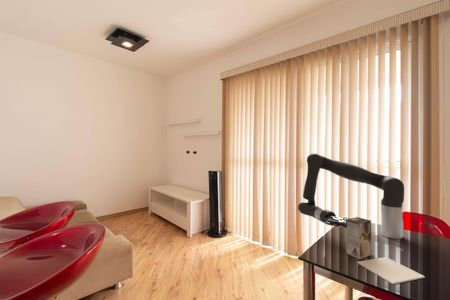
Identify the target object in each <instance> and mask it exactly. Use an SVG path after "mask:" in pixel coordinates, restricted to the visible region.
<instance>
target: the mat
mask: <svg viewBox="0 0 450 300" xmlns="http://www.w3.org/2000/svg"><path fill="white" fill-rule="evenodd" d="M356 263H357V264H358V263H359V264H358V265H360V266H362V267H363V268H365V269H367V270H368V271H369V272H372V273H373V274H375V275H377V276H378V277H379V278H381V279H383V280H385V281H386V282H387V283H389V284H390V285H397V284H401V283H406V282H410V281H415V280H420V279H425V278H426V277H425V275H423V274H421V273H419V272H417V271H415V270H414V269H413V270H412V269H411V268H409V267H407V266H405V265H403V264H402V263H399V262H397V261H395V260H393V259H391V258H390V257H387V256H383V257H378V258H372V259H365V260H360V261H357V262H356Z"/></svg>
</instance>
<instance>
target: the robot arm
mask: <svg viewBox="0 0 450 300" xmlns="http://www.w3.org/2000/svg"><path fill="white" fill-rule="evenodd" d="M306 163H307V173H306V179H305V182H304V187H303V194H302V198H303V199H304V200H306V201H307V202H300V203H298V206H297V209H298V212H300V213H301V214H302V215H304V216H305V215H306V216H308V217H312V218H314V219H315V220H318V221H320V222H322V223H323V224H326V225H327V226H332V227H333V226H334V227H336V228H337V227H338V228H339V227H341V228H345V229H346V220H348V219H347V217H343V218H341V217H340V216H338V215H336V214H335V212H334V211H332V210H329V209H326V208H324V207H320V206H317V205H316V200H315V199H316V198H315V197H316V191H317V184H318V177H319V173H320V169H322V170H326V171H329V172H330V173H333V174H335V176H338V177H341V178H344V179H347V180H350V181H352V182H357V183H361V184H367V185H369V186H373V187H375V188H377V189H379V190H382V192H383V195H382V197H383V198H381V201H380V212H381V213H380V214H381V216H380V221H381V223H380V227H381V228H380V229H381V231H380V232H381V233H380V234H381V235H382V236H383V237H386V238H388V239H389V238H390V239H394V240H402V239H403V238H404V220H403V204H404V199H405V185H404V184H405V183H403V181H402V180H401V179H399V178H397V177H394V176H387V175H383V174H378V173H375V172H372V171H370V170H368V169H366V168H362V167H361V166H357V165H355V164H352V163H349V162H344V161H339V160H334V159H331V158H329V157H325V156H323V155H321V154H319V153H316V152H315V153H314V152H313V153H310V154H309V155H308V156H307V157H306Z"/></svg>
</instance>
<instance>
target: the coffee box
mask: <svg viewBox="0 0 450 300" xmlns="http://www.w3.org/2000/svg"><path fill="white" fill-rule="evenodd" d="M345 229H346V230H345V231H346V232H345V233H346V238H345V239H346V254H347V255H349V256H352V257H353V258H355V259H358V260H362V259H364V258H367V257H369V256H372V220H370V219H366V218H362V217H359V216H356V217H352V218H348V219H347V220H346V228H345Z"/></svg>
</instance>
